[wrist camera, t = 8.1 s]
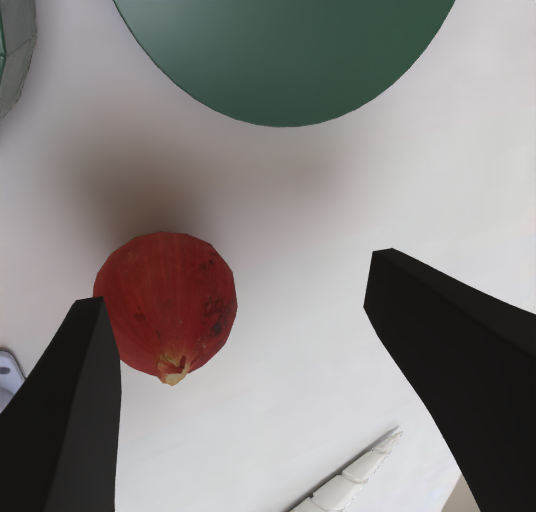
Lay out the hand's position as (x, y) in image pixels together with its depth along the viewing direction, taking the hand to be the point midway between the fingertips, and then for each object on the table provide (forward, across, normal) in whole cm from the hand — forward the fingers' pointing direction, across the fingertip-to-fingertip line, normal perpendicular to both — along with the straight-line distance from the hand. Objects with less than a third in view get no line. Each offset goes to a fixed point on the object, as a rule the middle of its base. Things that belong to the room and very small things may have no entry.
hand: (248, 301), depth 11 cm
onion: (+10, +2, +4) cm, 11 cm away
